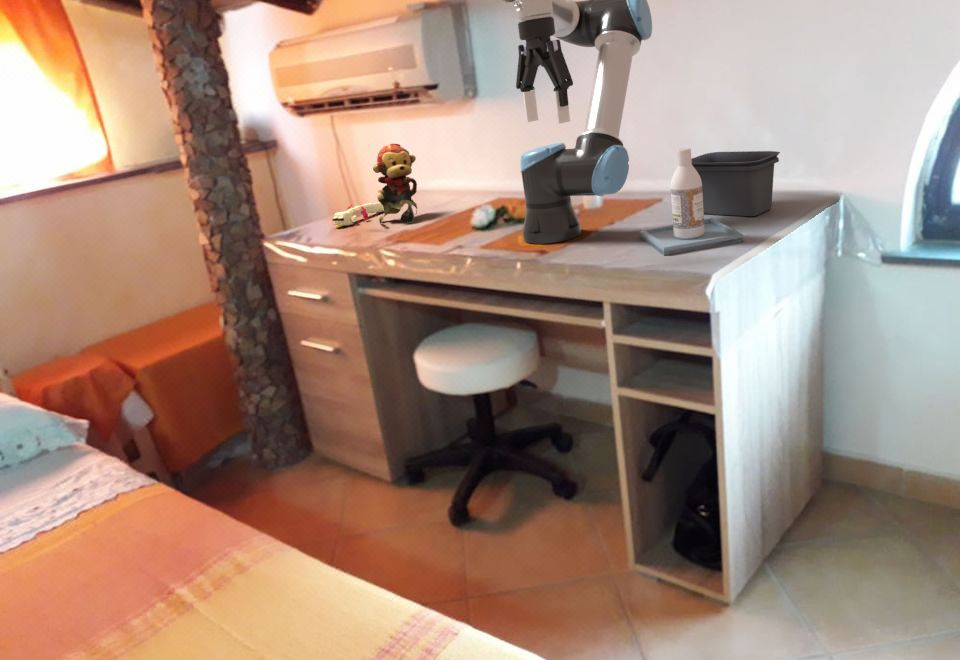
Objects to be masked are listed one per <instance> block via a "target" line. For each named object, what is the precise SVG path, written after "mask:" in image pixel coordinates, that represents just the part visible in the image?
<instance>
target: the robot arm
mask: <svg viewBox="0 0 960 660" xmlns="http://www.w3.org/2000/svg"><path fill="white" fill-rule="evenodd" d="M502 1H504V2H505V3H506V4H509V5H510V6H511V7H514V8H515V9H516V17H517V19H518V20H519V19H520V21H519V22H518V24H517V26H518V29H517V30H518V37H519V39H520V40H521V41H525V43H524V44H519V45H518V46H517V48H518V49H517V51H518V62H517V71H516V73H517V74H516V80H515V81H516V82H515V83H516V84H515V88H516V89H517V90H520V92H521V93H522V98H523V106H524V114H525V122H526V123H530V122H535V121H539V115H538V106H537V99H536V91H535V90H536V88H535V87H534V84H535V80H536V76H537V73H538V69H539V67H542V68H544V69H545V71H546V73H547V75H548V78H549V79H550V81H551V83H552V84H553V87H554V88H553V89H552V91H553V96H554V105H555V115H556V122H557V125H558V124H559V125H560V124H565V123H570V122H571V117H570V107H569V97H568V89H569V88H570V87H573V85H574V81H573V78H572V75H571V72H570V70H569V67H568V65H567V62H566V59H565V56H564V54H563V51H562V45H561V41H563V42H565V43H568V44H572V45H575V46H578V47H583V48H595V49H596V50H597V52H598V54H597V55H598V56H597V60H596V66H595V71H594V77H593V82H592V88H591V94H590V99H589V102H588V103H589V104H588V110H587V114H586V119H585V120H586V121H585V125H584V132H582V133H580V134H579V135H578V136H577V138H576V141H575V146H574V148H567V147H566V144H565V143H564V142H556V143H552V144H547V145H544V146H543V145H542V146H540V147H536V148H533V149H530V150H528V151H525V152H524V153H522V154H521V156H520V173H521V179H522V186H523V187H522V188H523V192H524V202H525V209H526V212H525V217H524V222H523V227H522V236H523V237H522V238H523V241H524V242H525V243H528V244H537V245H538V244H540V245H541V244H542V245H543V244H555V243H559V242H564V241H569V240H571V239H574V238H576V237H578V236H580V235H581V234H582V228H581V227H582V226H581V222H580V221H579V219H578V217H577V214H576V212H575V210H574V206H573V204H572V199H571V197H583V196H584V197H585V196H586V197H587V196H589V197H590V196H598V197H602V196H606V195H607V196H608V195H614V194H616V193H618V192H620V191H621V189H622V188H623V187H624V185H625V183H626V181H627V178H628V175H629V169H630V164H629V161H630V157H629V152H628V151H627V148H626V147H625V146H624V143H623V141H622V140H621V138H620V130H621V124H622V119H623V113H624V107H625V101H626V95H627V91H628V85H629V79H630V72H631V68H632V60H633V57H634V56H635V55H637V54H638V53H639V51H640V50H641V44H642V41H647V40H649V39H650V38H651V36H652V32H653V21H652V20H653V19H652V14H651V13H652V12H651V8H650V5H649V2H648V0H580V1H574V0H502ZM552 36H554V37H555V38H556V39H554V40H553V39H552V40H551V37H552Z"/></svg>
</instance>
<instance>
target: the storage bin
mask: <svg viewBox="0 0 960 660" xmlns="http://www.w3.org/2000/svg"><path fill="white" fill-rule="evenodd" d="M780 153H781V152H780V151H774V150H762V151H761V150H760V151H759V150H757V151H756V150H755V151H753V150H752V151H746V150H745V151H744V150H743V151H715V152H713V151H712V152H707V153H703V154H701V155H697V156H694V157H691V160H692V166H693V167H694V168H695V169H696V171H697V172H698V174H699V176H700V178H701V181H702V192H703V211H704V215H717V216H718V215H719V216H720V215H721V216H737V217H739V216H740V217H757V216H758V215H761V214H763V213H765V212H767V211H769V210H771V209H772V205H773V203H772V202H773V188H774V176H775V175H774V174H775V164H777V163H779V162H780V159H779V157H778V156H779V154H780Z"/></svg>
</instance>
